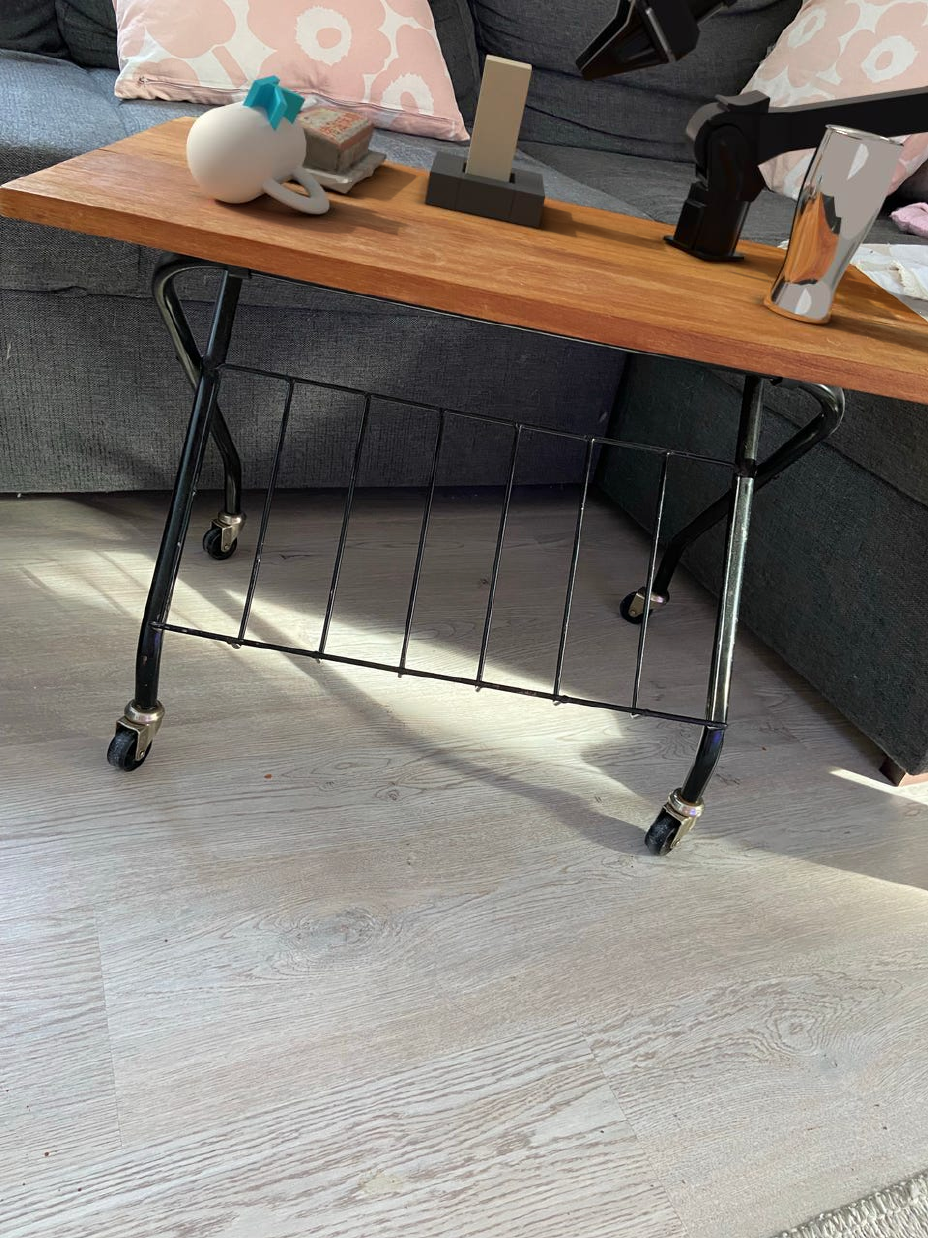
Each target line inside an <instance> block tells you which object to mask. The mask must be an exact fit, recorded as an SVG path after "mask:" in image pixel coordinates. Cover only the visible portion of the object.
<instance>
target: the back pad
mask: <svg viewBox="0 0 928 1238" xmlns="http://www.w3.org/2000/svg"><path fill="white" fill-rule="evenodd" d="M483 68H484V69H483V75H482V79H481V85H480V91H479V95H478V102H477V106H476V107H477V108H476V112H475V118H474V123H473V129H472V135H471V139H470V146H469V150H468V155H467V158H468V161H467V167H466V172H465V173H468V174H472V175H477V176H482V177H486V178H491V179H495V180H500V181H504V182H509V178H510V173H511V168H513V162H514V159H515V153H516V148H517V144H518V139H519V134H520V128H521V124H522V120H523V115H524V109H525V106H526V101H527V96H528V91H529V87H530V86H529V85H530V80H531V76H532V71H533V69H532V64H529V63H527V62H526V63H525V62H521V61H517V60H512V59H509V58H503V57H499V56H495V55H490V54H487V55H486V58H485V63H484V67H483Z"/></svg>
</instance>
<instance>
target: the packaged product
mask: <svg viewBox="0 0 928 1238" xmlns="http://www.w3.org/2000/svg"><path fill="white" fill-rule="evenodd" d="M297 118H298V120H299V121H300V123H301V125H302V127H303V130H304V134H305V139H306V156H305V159H304V162H303V165H302V167H303V168H304V169H305V170H306V171H307V172H308V173H309V174H310V175H311V176H312V177H313V178H314V179H315V180H316V181H317V182H318V183H319V185H320V186H321V187H322V188H323V189H327V190H331V191H335V192H338V193H342V194H347V193H348V192H349V190H351V189H352V188H353V186H354V185H355V184H356V183H359V182H361V181H362V180H365V178H368V177H373V174H374V170H376V169H377V168H378V167H379V166H380V165H382V164H383V163H385V161H386V159H387V157H388V156H387V153H384V152H380V151H376V150H372V149H370V148H369V147H370V143H371V140H372V138H373V136H374V130H375V123H374V121H373V120H372V119H370V118H369V117H367V116H366V115H365V114H362V113H357V112H355V111H350V110H346V109H341V108H337V107H334V106H333V107H332V106H328V105H317V106H315V107H312V108H310V109H307V110H305V111H302V112H299V113H298V115H297ZM290 181H295V182H298V181H297V180H295V179H294V178H292V179H290Z"/></svg>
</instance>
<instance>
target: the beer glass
mask: <svg viewBox="0 0 928 1238" xmlns="http://www.w3.org/2000/svg"><path fill="white" fill-rule="evenodd" d="M904 147H905V145H904V144H903V143H902V142H900V141H898V140H895V139H891V138H886V137H882V136H879V135H876V134H872V133H868V132H864V131H860V130H856V129H852V128H847V127H842V126H837V125H826V126H825V130H824V132H823V134H822V137H821V139H820V141H819V143H818V145H817V147H816V148H815V150H814V152H813V154H812V156H811V158H810V162H809V164H808V166H807V169H806V172H805V174H804V176H803V180H802V182H801V185H800V189H799V192H798V194H797V195H798V196H797V199H796V203H795V206H794V207H795V208H794V212H793V217H792V221H791V226H790V231H789V237H788V242H787V246H786V251H785V255H784V259H783V260H782V261H783V262H782V265H781V267H780V270H779V271H778V274H777V276H776V278H775V280H774V281H773V283H772V285H771V287H770V289H769V290H768V292H767V293H766V296H765V298H764V299H763V303H764V306H765V307H766V308H768V309H769V310H771V311H772V312H774V313H776V314H778V315H781V316H783V317H786V318H788V319H792V320H795V321H798V322H804V323H808V324H815V325H816V324H817V325H822V324H827V323H828V322H829V321H830V319H831V316H832V311H833V307H834V301H835V297H836V294H837V290H838V288H839V284H840V282H841V280H842V279H843V276H844V274H845V272H846V270H847V268H848V267H849V265H850V263H851V261H852V259H854V256H855V255H856V254H857V252H858V250H859V249H860V247H861V245H862V244H863V242H864V240H865V238H866V237H867V236H868V233H869V232H870V230H871V228H872V226H873V225H874V222H875V221H876V220H877V217H878V215H879V213H880V212H881V209H882V206H883V205H884V203H885V200H886V197H887V195H888V192H889V189H890V186H891V185H892V182H893V178H894V175H895V173H896V169H897V167H898V163H899V160H900V157H901V155H902V151H903V149H904Z"/></svg>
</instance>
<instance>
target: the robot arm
mask: <svg viewBox="0 0 928 1238" xmlns="http://www.w3.org/2000/svg"><path fill="white" fill-rule="evenodd" d="M738 1H739V0H617V2H616V8H615V12H614V15H613V16H612V18H611V19H610V20H609V22H607V24H605V26H604V27H603V28H602V29H600V30H601V31H599V32H598V34H597V35H596V36H595V37H594V38H593V39H592V40H591V41H590V42H589V44H588V45H586V47H585V48H584V49H583V50H582V52H580V54H578V56H577V57H576V58H575V60H574V63H575V65H576V67H577V69H578V71H580V74H581V76H582V78H583V80H584V81H585V82H591V81H594V80H598V79H603V78H607V77H611V76H615V75H619V74H624V73H628V72H633V71H638V70H642V69H647V68H651V67H656V66H661V65H667V64H670V62H671V61H670V58H669V56H668V54H667V53H668V52H669V55H670V57H671V59H672V60H673V61H675V63H676V62H679V60H681V59H683V58H684V57H685V56H688V54H690V53H692V52H693V51H694V50H695V49H696V48H697V45H698V41H699V38H700V34H701V30H700V28H699V25H701V24H703V22H705V21H706V20H708V19H709V18H711V17H712V16H714V15H715V14H716V13H718V12H719V11H721V10H722V9H723V8H724V9H729V8H731V7H733V6H734V5H736V4H737V3H738ZM714 97H715V100H716V101H717V102H710V103H707V104H705V105H702V106H701V107H699V108H698V109H697V110H696V111H695V113H694V114H693V115H692V117H690V119H689V121H688V123H687V126H686V128H685V135H684V142H685V148H686V151H687V152H688V154H689V156H690V157H691V158H692V159H693V160H694V176H695V177H696V178H697V179H698V181H695V182H691V184H690V187H689V191H688V193H687V197H686V198H685V199H684V200H683V204H682V207H681V209H680V210H681V211H680V214H679V217H678V220H677V222H676V223H677V224H676V227H675V230H674V234H673V235H672V234H663V238H662V240H663V241H664V242H666V243H668V244H671V245H672V246H675V247H677V248H678V249H679V248H680V249H681V250H683V251H685V252H687V253H689V254H690V255H691V254H692V255H693V256H696V257H698V258H700V259H702V260H706V261H745V259H746V255H745V254H744V253H741V252H739V251H737V247H738V243H739V240H740V237H741V235H742V232H743V229H744V226H745V223H746V220H747V217H748V215H749V212H750V208H751V206H752V203H754V202H755V201H756V199H757V198H758V197H759V195H760V194H761V192H762V191H763V190H764V188H765V187H766V185H767V182H766V179H765V177H764V175H763V173H762V171H761V169H760V167H759V166H761V165H763V164H765V163H767V162H769V161H771V160H774V159H775V158H778V157H779V156H782V155H784V154H786V153H790V152H799V151H804V150H805V151H806V150H811V149H816V147H817V145H818V143H819V141H820V139H821V137H822V134H823V132H824V130H825V126H826V125H837V126H842V127H847V128H852V129H856V130H860V131H864V132H868V133H872V134H876V135H879V136H882V137H886V138H889V139H891V138H897V137H904V136H911V135H918V134H926V133H928V85H925V86H919V87H913V88H912V87H911V88H905V89H899V90H891V91H884V92H878V93H871V94H864V95H863V94H862V95H859V96H857V95H856V96H850V97H844V98H837V99H829V100H823V101H816V102H810V103H809V102H808V103H803V104H795V105H788V106H771V105H770V104H771V99H772V98H771V97H770V96H769V95H767V94H765V93H763V91H760V90H758V89H753V90H750V91H746V92H743V93H741V94H738V95H733V96H724V95H721V94H717V93H716V95H715V96H714Z"/></svg>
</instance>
